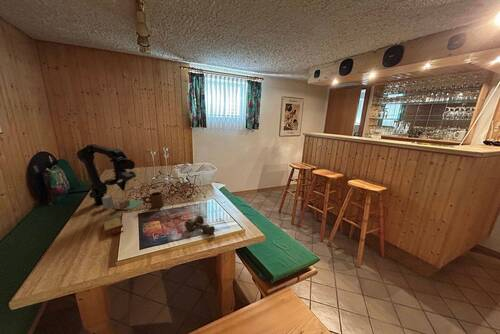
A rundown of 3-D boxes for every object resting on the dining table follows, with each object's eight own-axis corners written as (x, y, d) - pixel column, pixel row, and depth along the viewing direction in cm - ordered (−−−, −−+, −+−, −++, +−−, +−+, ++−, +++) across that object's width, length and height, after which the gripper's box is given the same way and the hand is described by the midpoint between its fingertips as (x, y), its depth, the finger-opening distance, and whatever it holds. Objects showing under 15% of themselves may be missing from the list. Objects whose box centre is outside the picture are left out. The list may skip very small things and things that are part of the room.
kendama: (205, 240, 99) (180, 227, 110) (218, 232, 107) (193, 220, 118) (205, 230, 98) (180, 218, 108) (218, 222, 105) (193, 211, 116)
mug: (145, 211, 127) (143, 198, 125) (143, 207, 134) (141, 194, 131) (164, 207, 134) (162, 194, 131) (162, 203, 140) (160, 191, 137)
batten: (113, 208, 132) (112, 206, 132) (114, 207, 133) (114, 206, 133) (126, 210, 129) (126, 209, 129) (128, 209, 130) (127, 208, 130)
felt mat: (115, 206, 135) (114, 206, 134) (129, 199, 146) (129, 199, 146) (130, 209, 131) (130, 208, 131) (144, 201, 142) (144, 201, 142)
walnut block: (114, 202, 128) (125, 199, 136) (114, 208, 129) (125, 204, 137) (118, 203, 127) (129, 200, 135) (119, 209, 128) (129, 205, 136)
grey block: (104, 208, 132) (101, 197, 130) (109, 205, 136) (107, 195, 134) (108, 209, 131) (106, 198, 129) (113, 206, 135) (111, 196, 133)
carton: (105, 237, 102) (104, 230, 101) (103, 224, 114) (102, 218, 113) (124, 231, 107) (122, 224, 106) (120, 219, 119) (119, 213, 118)
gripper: (115, 173, 117) (119, 197, 121) (140, 165, 134) (143, 186, 138) (101, 172, 120) (106, 195, 124) (127, 164, 137) (131, 185, 141)
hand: (123, 190), depth 132 cm, fingers closed
